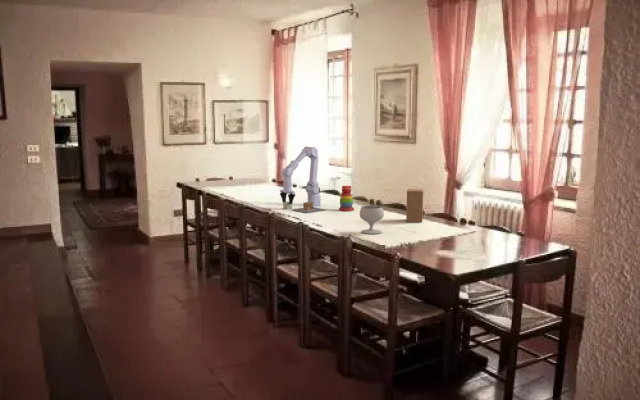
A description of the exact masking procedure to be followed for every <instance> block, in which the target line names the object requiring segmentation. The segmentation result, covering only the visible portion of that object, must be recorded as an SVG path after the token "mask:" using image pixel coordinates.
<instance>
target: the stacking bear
mask: <svg viewBox="0 0 640 400" xmlns="http://www.w3.org/2000/svg"><path fill="white" fill-rule="evenodd" d="M341 192H342V193H341V194H340V198H339V205H340V207H339V208H338V211H340V212H353V211H354V210H355V207H354V206H353V205H354V198H353V195H352V193H351V192H352V185H342V186H341Z"/></svg>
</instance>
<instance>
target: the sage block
mask: <svg viewBox="0 0 640 400" xmlns="http://www.w3.org/2000/svg"><path fill="white" fill-rule="evenodd" d="M282 203H283V207H282V209H283V210H286V211H287V210H288V211H289V210H293V203H292V204H289V201H286V202H283V201H282Z"/></svg>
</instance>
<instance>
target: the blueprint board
mask: <svg viewBox="0 0 640 400" xmlns="http://www.w3.org/2000/svg"><path fill="white" fill-rule="evenodd" d="M292 211H293V212H298V213H302V214H312V213H318V212H323V211H326V208H325V209H324V208H320V207H315V206H313V210H303V207H301V208H300V207H299V208H294V209H293V208H292V209H291V212H292Z"/></svg>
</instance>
